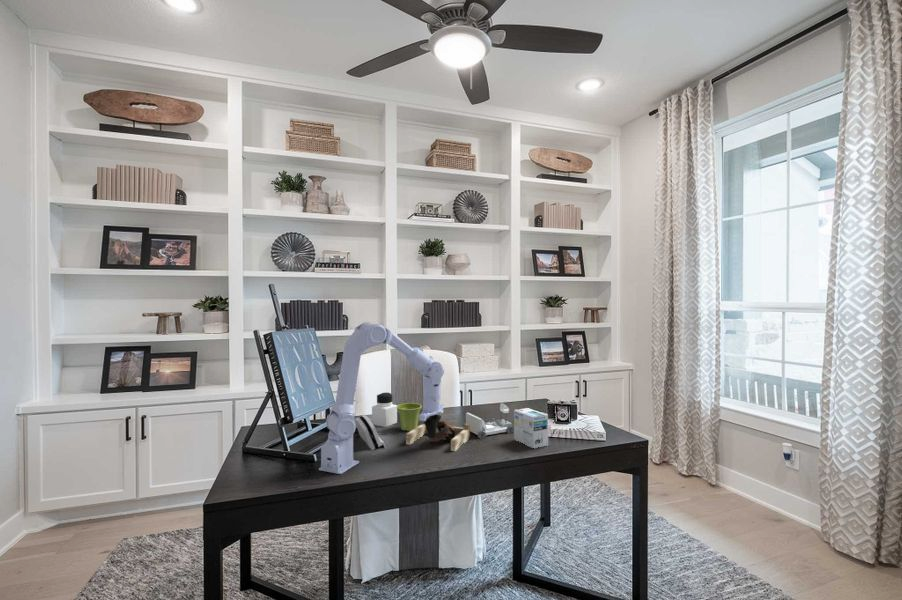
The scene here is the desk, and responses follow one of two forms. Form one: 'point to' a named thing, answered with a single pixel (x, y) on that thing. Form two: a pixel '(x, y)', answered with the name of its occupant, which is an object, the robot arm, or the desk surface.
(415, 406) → the plant pot
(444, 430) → the pottery mug
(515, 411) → the light bulb box
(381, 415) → the medicine bottle
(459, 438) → the cradle
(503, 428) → the toy car
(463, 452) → the desk surface
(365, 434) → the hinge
